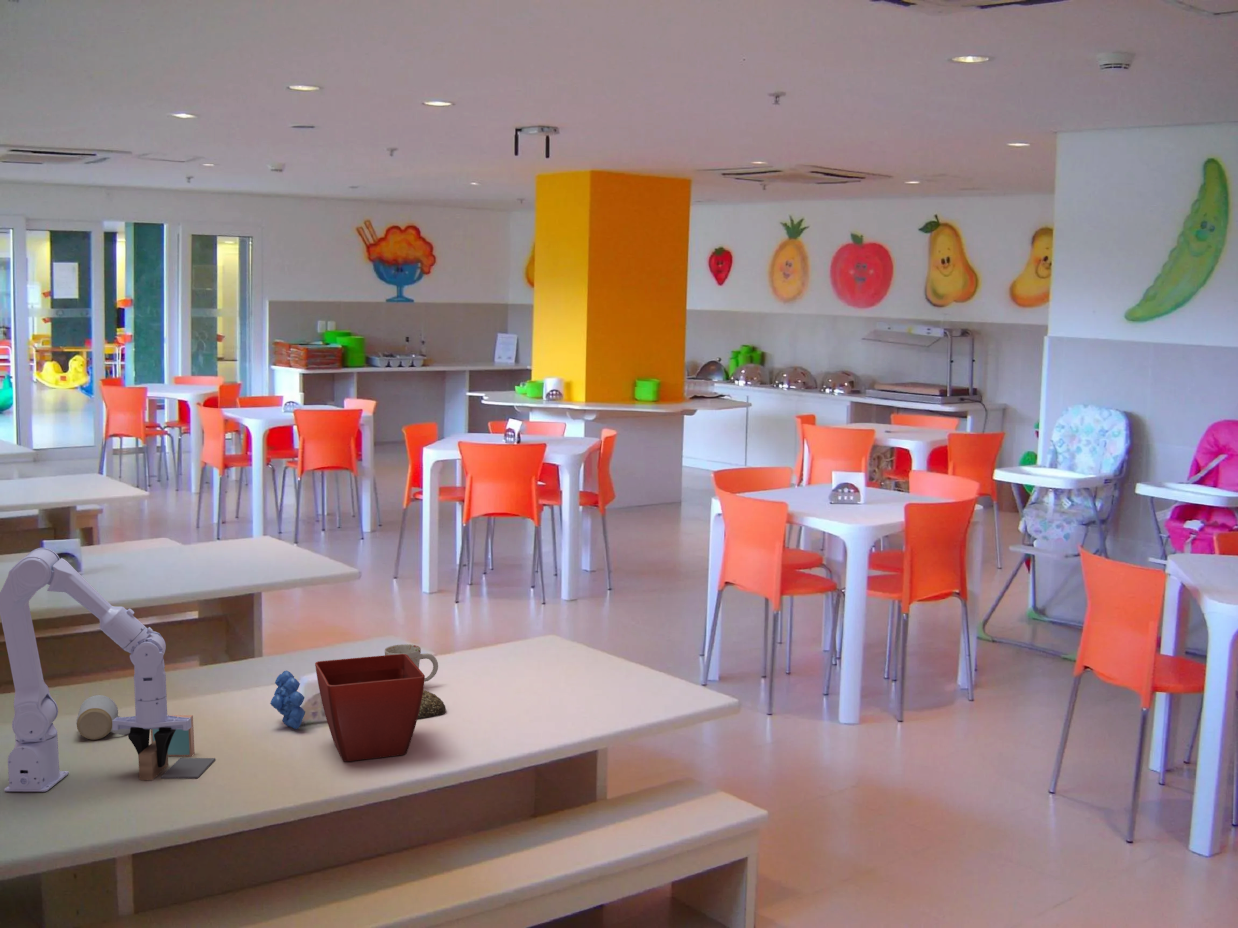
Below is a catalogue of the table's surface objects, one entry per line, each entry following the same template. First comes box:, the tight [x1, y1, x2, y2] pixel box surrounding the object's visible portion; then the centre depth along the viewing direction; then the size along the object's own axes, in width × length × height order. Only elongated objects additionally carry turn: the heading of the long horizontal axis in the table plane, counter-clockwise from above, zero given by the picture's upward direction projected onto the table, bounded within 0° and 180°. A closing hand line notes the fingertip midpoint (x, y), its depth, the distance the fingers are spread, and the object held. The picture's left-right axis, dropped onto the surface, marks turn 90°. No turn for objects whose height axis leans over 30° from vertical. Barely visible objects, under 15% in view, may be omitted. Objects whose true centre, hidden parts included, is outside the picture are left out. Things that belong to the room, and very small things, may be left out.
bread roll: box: [417, 689, 447, 720], centre depth 281 cm, size 13×12×5 cm
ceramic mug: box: [76, 694, 130, 741], centre depth 265 cm, size 11×8×8 cm
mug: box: [384, 643, 439, 683], centre depth 297 cm, size 8×13×10 cm, turn 115°
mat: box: [160, 757, 216, 780], centre depth 245 cm, size 10×7×1 cm
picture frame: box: [150, 714, 195, 757], centre depth 253 cm, size 2×8×8 cm, turn 89°
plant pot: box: [314, 654, 426, 762], centre depth 255 cm, size 19×19×17 cm
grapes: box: [269, 670, 306, 730], centre depth 269 cm, size 12×7×12 cm, turn 37°
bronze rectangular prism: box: [137, 741, 169, 781], centre depth 243 cm, size 8×2×5 cm, turn 179°
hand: (153, 765), depth 243 cm, fingers closed on bronze rectangular prism, 2 cm apart
